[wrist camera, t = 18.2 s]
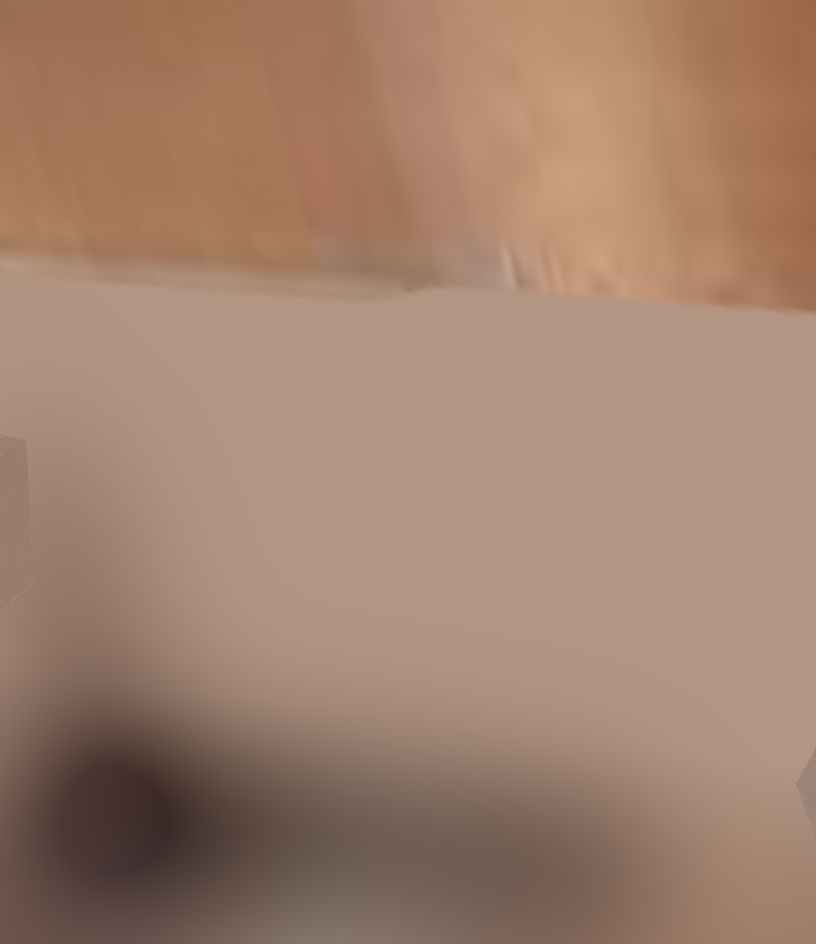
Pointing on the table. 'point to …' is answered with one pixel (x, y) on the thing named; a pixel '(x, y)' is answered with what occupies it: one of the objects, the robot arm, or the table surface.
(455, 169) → the table surface
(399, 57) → the table surface
